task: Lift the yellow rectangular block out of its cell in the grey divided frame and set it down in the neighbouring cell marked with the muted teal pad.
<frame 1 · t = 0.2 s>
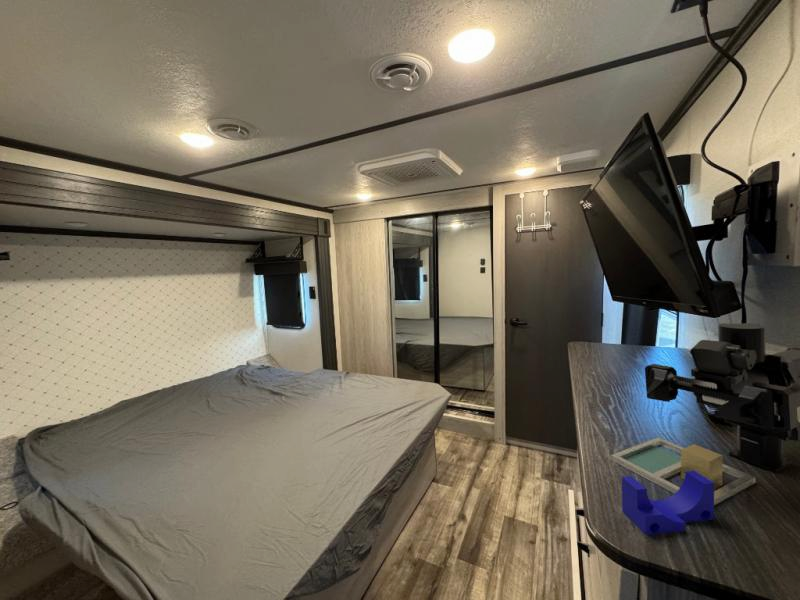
hand: (679, 403, 50), 16 cm above the dresser, tool horizontal, fingers open, 9 cm apart
yellow rectangular block: (701, 481, 55), resting in grey divided frame
cable clip: (671, 521, 47), on the dresser
grey divided frame: (677, 470, 58), on the dresser
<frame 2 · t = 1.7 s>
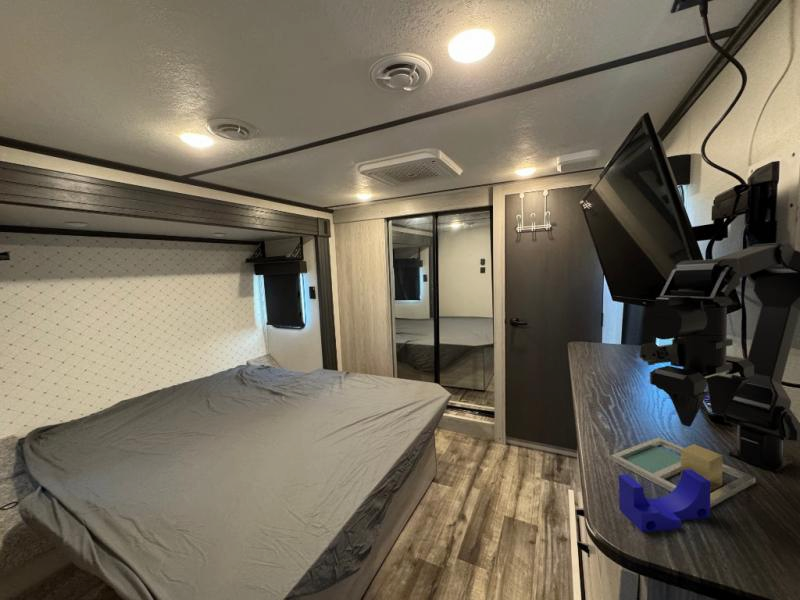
hand: (701, 419, 54), 11 cm above the dresser, tool pointing down, fingers open, 9 cm apart
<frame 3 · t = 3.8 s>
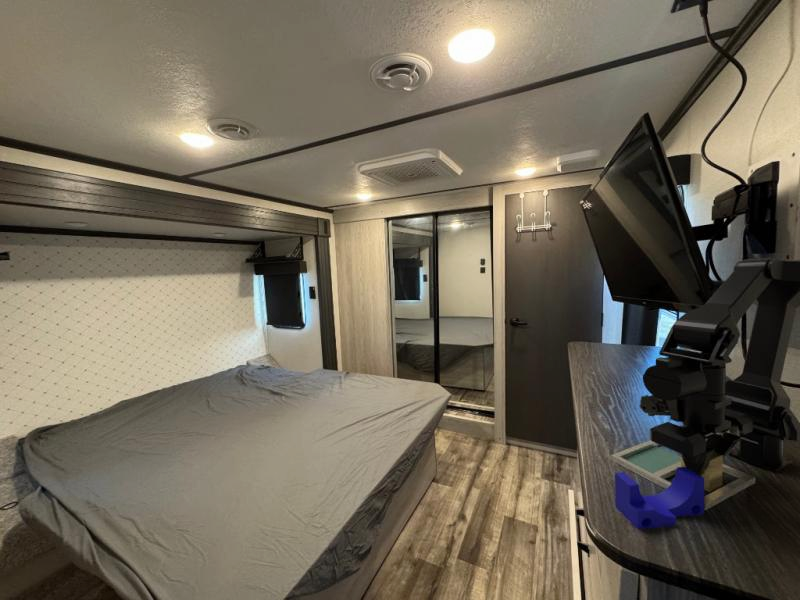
hand: (701, 474, 55), 1 cm above the dresser, tool pointing down, fingers closed on yellow rectangular block, 4 cm apart
yellow rectangular block: (701, 481, 55), resting in grey divided frame, touching gripper
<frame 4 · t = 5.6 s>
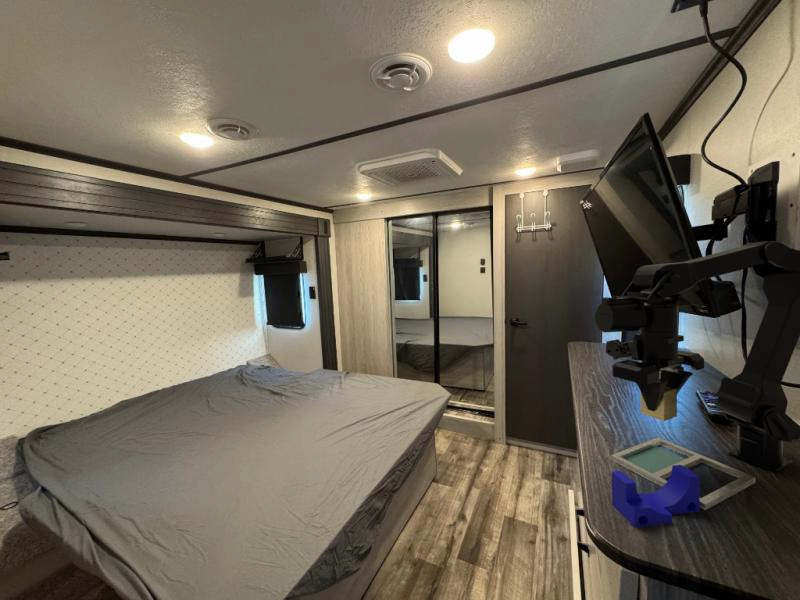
hand: (658, 408, 60), 11 cm above the dresser, tool pointing down, fingers closed on yellow rectangular block, 4 cm apart
yellow rectangular block: (658, 414, 60), point 10 cm above the dresser, touching gripper
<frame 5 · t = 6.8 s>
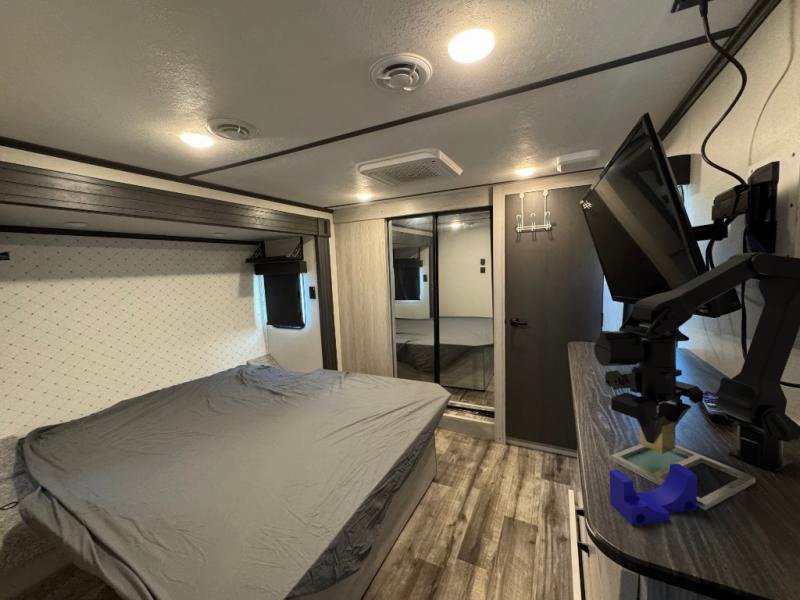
hand: (657, 439, 61), 4 cm above the dresser, tool pointing down, fingers closed on yellow rectangular block, 4 cm apart
yellow rectangular block: (657, 446, 61), point 3 cm above the dresser, touching gripper
when the fingers open (3 cm above the dresser, at t = 7.7 s): yellow rectangular block drops 2 cm, resting on grey divided frame.
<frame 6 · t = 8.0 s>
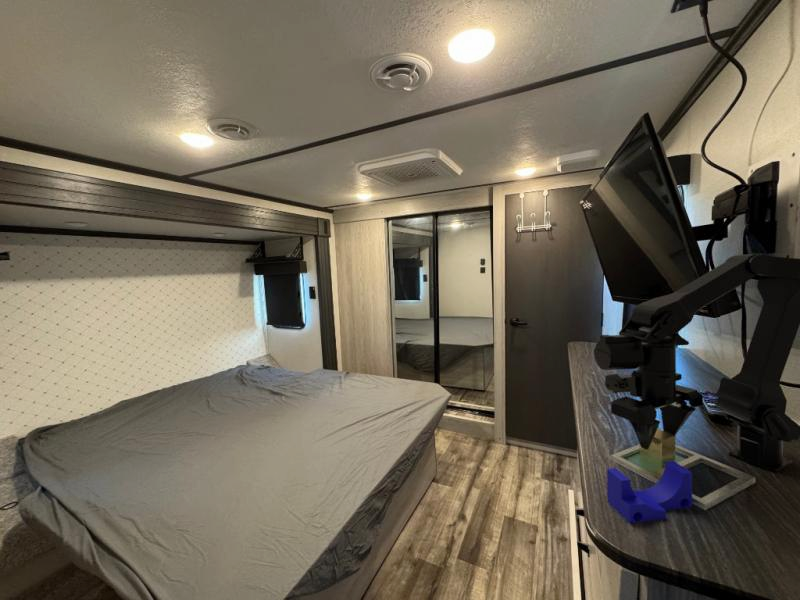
hand: (656, 443, 61), 3 cm above the dresser, tool pointing down, fingers open, 7 cm apart
yellow rectangular block: (657, 459, 61), resting on grey divided frame
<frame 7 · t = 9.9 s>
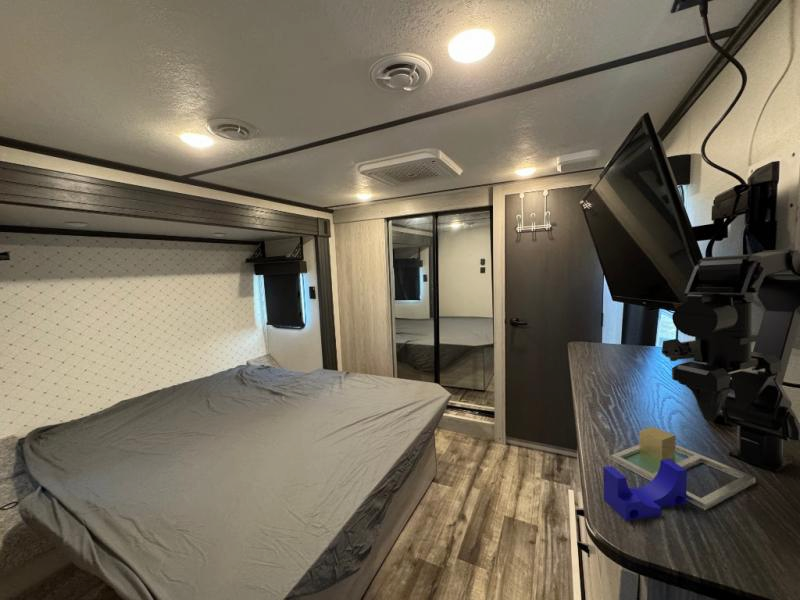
hand: (726, 415, 54), 12 cm above the dresser, tool pointing down, fingers open, 9 cm apart
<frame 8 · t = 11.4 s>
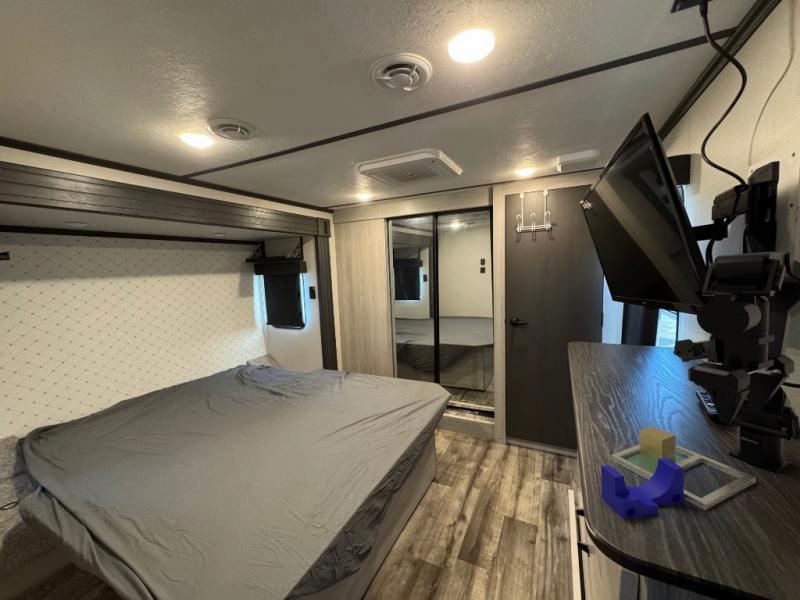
hand: (740, 417, 53), 12 cm above the dresser, tool pointing down, fingers open, 9 cm apart
at the end: yellow rectangular block 0.0 cm from the target spot on the grey divided frame, point 0.2 cm above the grey divided frame's base; yellow rectangular block tilted 0°; the gripper is holding nothing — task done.
